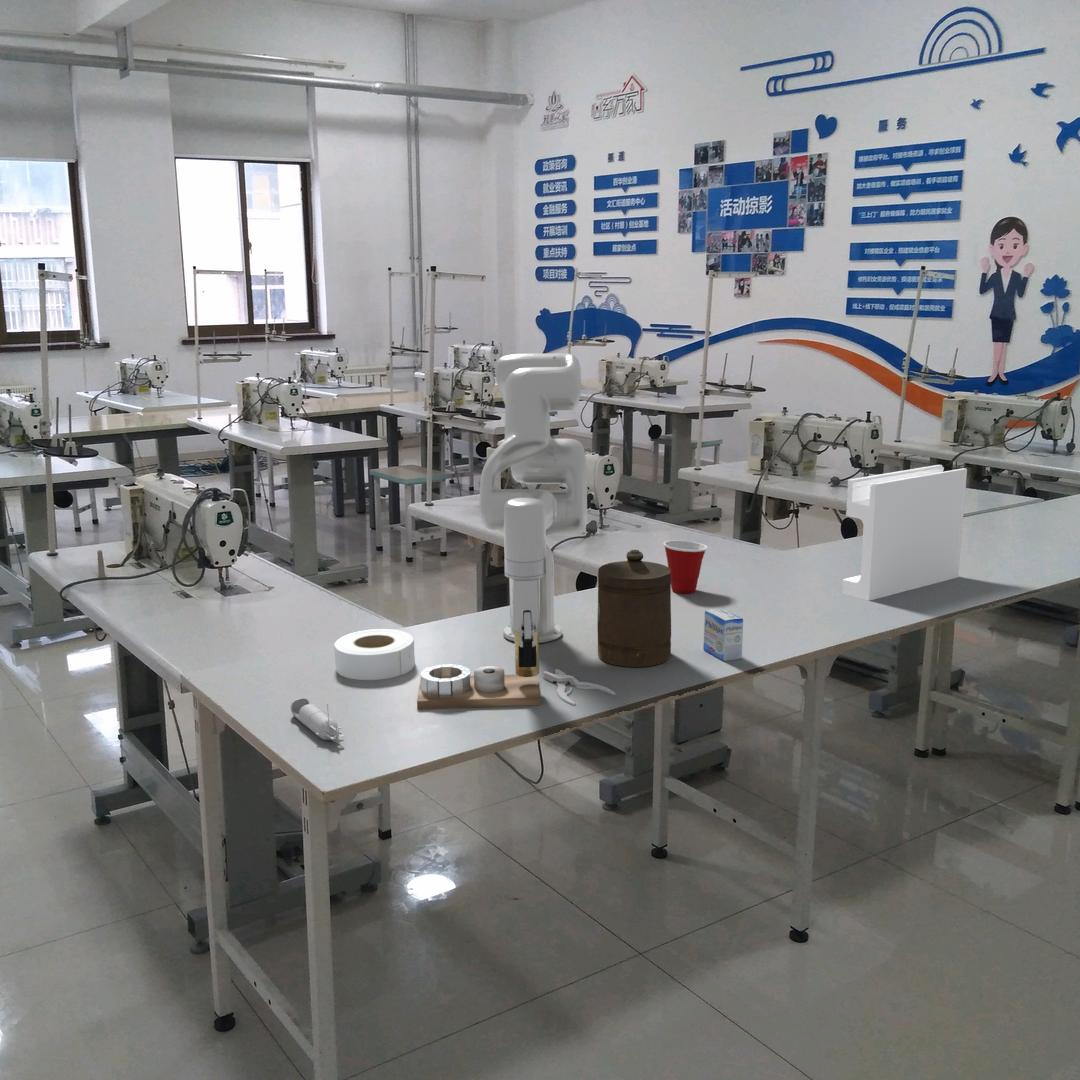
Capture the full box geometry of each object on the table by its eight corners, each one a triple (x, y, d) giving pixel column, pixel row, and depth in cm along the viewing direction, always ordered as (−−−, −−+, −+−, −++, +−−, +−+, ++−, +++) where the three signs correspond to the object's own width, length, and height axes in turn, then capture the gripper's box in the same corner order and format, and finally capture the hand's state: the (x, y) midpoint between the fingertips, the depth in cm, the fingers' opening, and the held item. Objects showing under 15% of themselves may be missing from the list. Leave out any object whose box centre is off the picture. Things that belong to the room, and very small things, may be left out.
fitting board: (421, 684, 202) (420, 661, 201) (536, 681, 203) (536, 658, 202) (417, 708, 191) (416, 684, 190) (540, 705, 192) (539, 680, 191)
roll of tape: (382, 686, 202) (381, 658, 201) (319, 673, 210) (317, 646, 209) (431, 661, 216) (430, 635, 214) (369, 649, 223) (368, 624, 222)
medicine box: (702, 650, 220) (703, 610, 218) (721, 647, 221) (722, 607, 219) (723, 662, 213) (724, 620, 211) (742, 658, 214) (744, 617, 212)
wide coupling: (422, 680, 201) (422, 664, 200) (470, 678, 201) (470, 663, 200) (420, 697, 192) (419, 682, 191) (470, 696, 192) (469, 680, 192)
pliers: (572, 699, 191) (528, 674, 203) (572, 707, 191) (528, 682, 204) (616, 688, 196) (571, 665, 208) (616, 696, 196) (571, 672, 209)
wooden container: (631, 639, 227) (632, 538, 222) (685, 655, 217) (687, 550, 212) (582, 655, 217) (582, 551, 212) (636, 673, 207) (637, 564, 202)
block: (868, 600, 252) (875, 484, 246) (841, 593, 259) (847, 479, 253) (958, 577, 272) (967, 468, 265) (931, 570, 278) (939, 464, 272)
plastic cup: (713, 595, 259) (714, 547, 256) (671, 598, 256) (672, 550, 254) (696, 583, 269) (697, 537, 266) (656, 586, 267) (656, 540, 264)
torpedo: (284, 717, 188) (281, 682, 187) (309, 711, 191) (307, 677, 189) (326, 752, 174) (324, 714, 172) (353, 744, 176) (350, 707, 175)
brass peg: (515, 668, 199) (514, 628, 197) (538, 667, 200) (537, 627, 198) (515, 677, 195) (515, 636, 193) (539, 676, 195) (539, 635, 193)
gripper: (503, 554, 200) (505, 646, 205) (505, 580, 184) (507, 679, 188) (543, 553, 200) (544, 645, 205) (549, 579, 184) (550, 678, 189)
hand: (527, 660), depth 197 cm, fingers closed on brass peg, 4 cm apart
